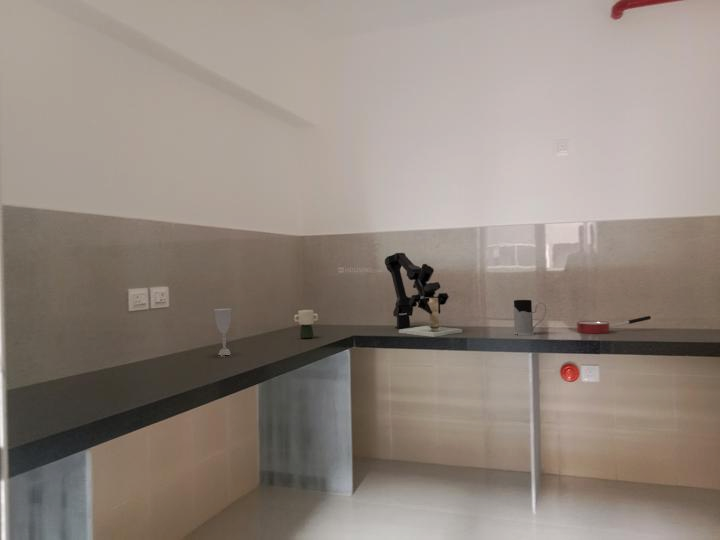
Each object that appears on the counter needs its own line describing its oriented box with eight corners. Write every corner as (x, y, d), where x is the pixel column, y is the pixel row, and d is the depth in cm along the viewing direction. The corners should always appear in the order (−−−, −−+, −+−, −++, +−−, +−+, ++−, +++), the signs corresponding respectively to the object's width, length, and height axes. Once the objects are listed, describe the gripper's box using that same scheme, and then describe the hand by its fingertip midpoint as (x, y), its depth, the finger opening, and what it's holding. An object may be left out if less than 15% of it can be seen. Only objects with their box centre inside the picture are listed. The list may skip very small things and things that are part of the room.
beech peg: (428, 331, 244) (427, 298, 244) (432, 329, 247) (431, 297, 247) (436, 331, 242) (435, 298, 242) (440, 330, 245) (439, 297, 245)
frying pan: (637, 327, 244) (637, 313, 244) (656, 331, 231) (656, 316, 231) (571, 331, 240) (571, 317, 240) (587, 335, 227) (586, 320, 227)
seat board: (399, 332, 256) (398, 329, 256) (426, 328, 267) (426, 325, 267) (433, 336, 238) (433, 333, 238) (462, 332, 249) (461, 329, 249)
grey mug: (512, 332, 241) (511, 299, 241) (545, 332, 238) (544, 299, 238) (514, 335, 233) (513, 301, 232) (548, 335, 230) (547, 300, 230)
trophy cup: (318, 336, 252) (316, 309, 252) (319, 338, 245) (318, 310, 245) (294, 338, 251) (293, 310, 251) (295, 340, 244) (294, 311, 244)
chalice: (217, 354, 211) (215, 308, 211) (234, 353, 212) (233, 308, 212) (214, 357, 204) (212, 310, 204) (232, 356, 205) (230, 309, 204)
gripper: (410, 277, 244) (423, 302, 234) (445, 275, 251) (459, 300, 241) (403, 293, 252) (415, 319, 242) (437, 291, 259) (450, 316, 249)
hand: (435, 313), depth 243 cm, fingers closed on beech peg, 4 cm apart
